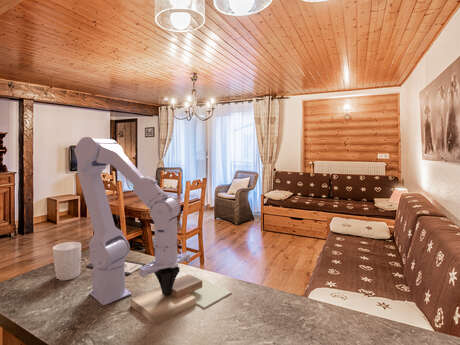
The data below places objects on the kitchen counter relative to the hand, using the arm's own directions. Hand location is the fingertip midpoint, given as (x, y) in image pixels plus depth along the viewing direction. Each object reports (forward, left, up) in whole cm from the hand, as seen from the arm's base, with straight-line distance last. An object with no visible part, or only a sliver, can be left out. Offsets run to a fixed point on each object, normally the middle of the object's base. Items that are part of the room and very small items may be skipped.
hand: (166, 294), depth 73 cm
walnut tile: (0, +5, -1) cm, 6 cm away
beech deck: (0, -1, -3) cm, 3 cm away
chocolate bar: (-33, +2, -3) cm, 33 cm away
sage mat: (0, +10, -3) cm, 11 cm away
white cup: (-37, -12, -3) cm, 39 cm away
